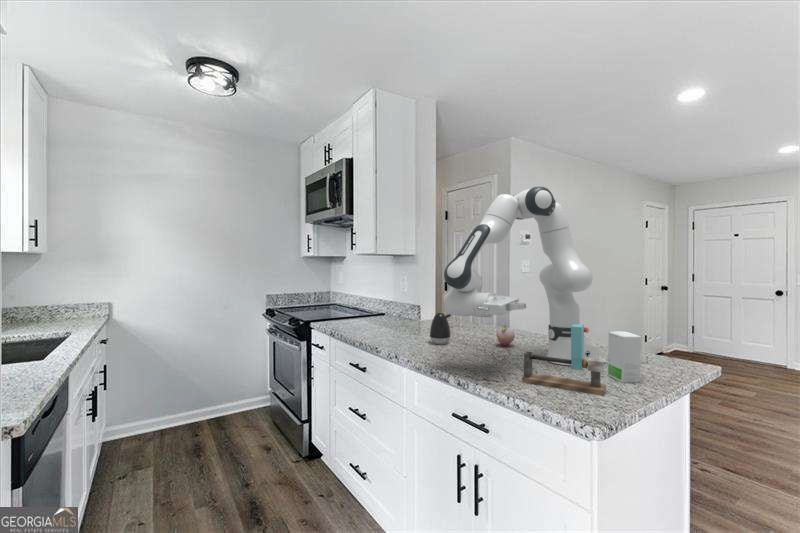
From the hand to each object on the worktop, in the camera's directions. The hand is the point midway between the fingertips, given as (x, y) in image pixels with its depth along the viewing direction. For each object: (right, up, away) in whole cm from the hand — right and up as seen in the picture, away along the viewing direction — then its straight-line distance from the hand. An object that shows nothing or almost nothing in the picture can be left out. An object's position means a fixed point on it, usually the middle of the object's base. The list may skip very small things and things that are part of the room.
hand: (525, 306), depth 129 cm
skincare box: (+33, -25, 0) cm, 42 cm away
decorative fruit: (+7, -24, +50) cm, 56 cm away
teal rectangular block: (+14, -19, -9) cm, 25 cm away
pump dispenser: (-23, -24, +57) cm, 66 cm away
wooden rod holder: (+10, -25, -6) cm, 28 cm away
